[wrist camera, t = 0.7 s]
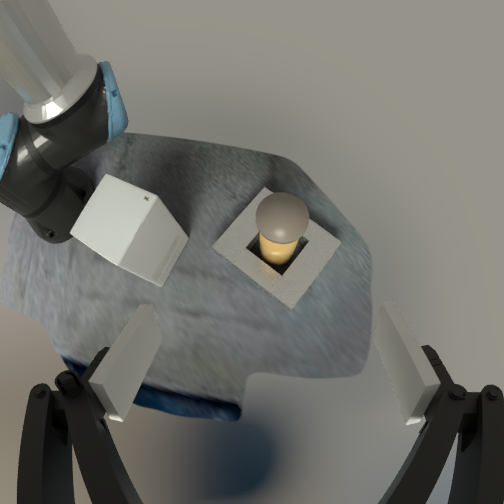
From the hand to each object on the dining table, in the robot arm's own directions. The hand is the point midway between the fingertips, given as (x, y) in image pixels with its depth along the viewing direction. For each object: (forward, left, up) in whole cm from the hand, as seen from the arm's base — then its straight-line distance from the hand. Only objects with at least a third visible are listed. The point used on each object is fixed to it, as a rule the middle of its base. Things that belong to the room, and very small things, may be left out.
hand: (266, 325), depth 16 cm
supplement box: (-21, -1, -26) cm, 33 cm away
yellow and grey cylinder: (-6, +11, -26) cm, 28 cm away
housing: (-6, +11, -26) cm, 28 cm away
